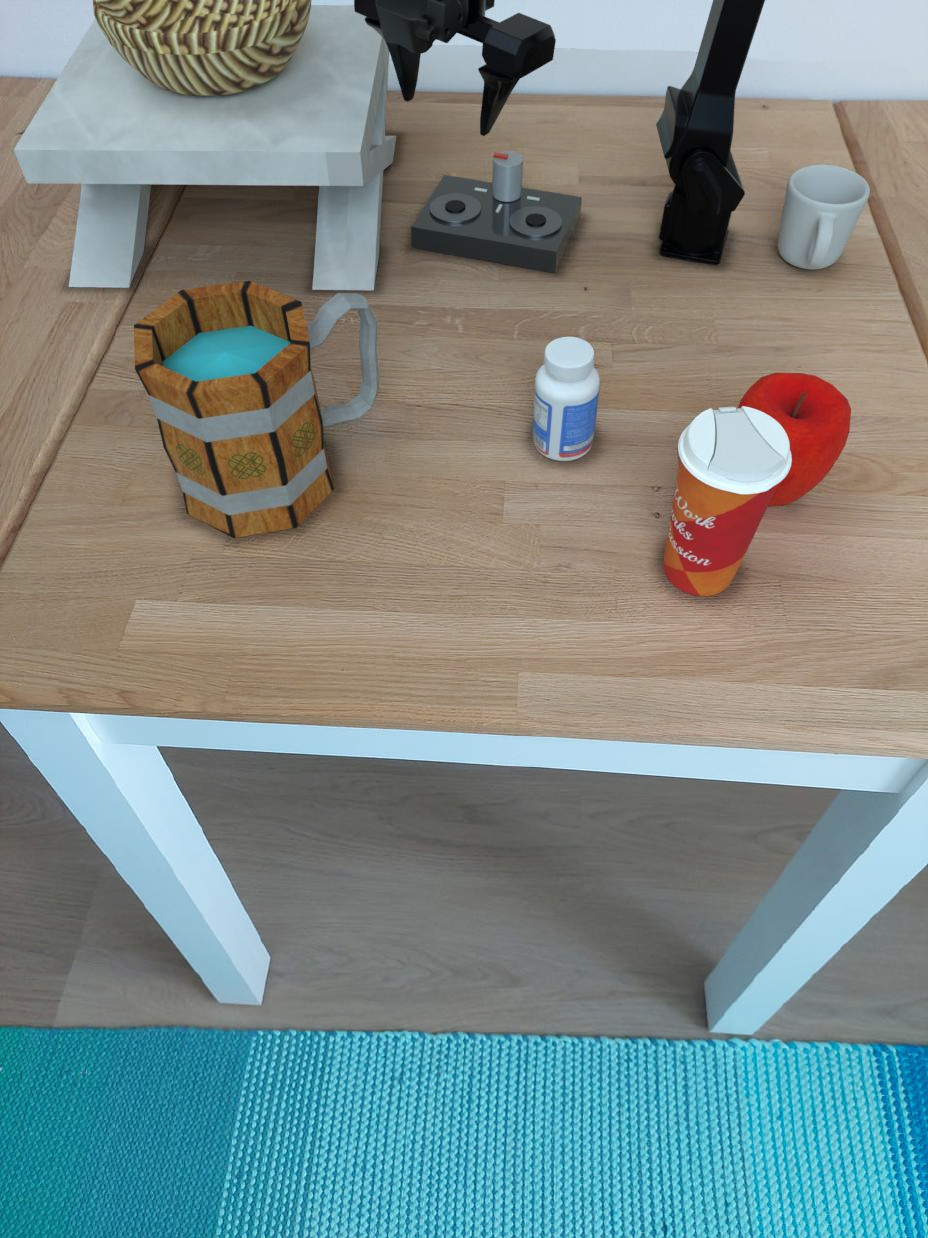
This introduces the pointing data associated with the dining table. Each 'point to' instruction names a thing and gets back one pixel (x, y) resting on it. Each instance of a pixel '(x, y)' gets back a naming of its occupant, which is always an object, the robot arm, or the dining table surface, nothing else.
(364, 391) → the mug
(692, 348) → the dining table surface
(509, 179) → the hob knob
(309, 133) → the grey stone stand
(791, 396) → the apple
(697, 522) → the paper cup
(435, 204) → the burners
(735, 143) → the dining table surface
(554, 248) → the hob
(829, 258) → the cup
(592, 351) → the pill bottle
